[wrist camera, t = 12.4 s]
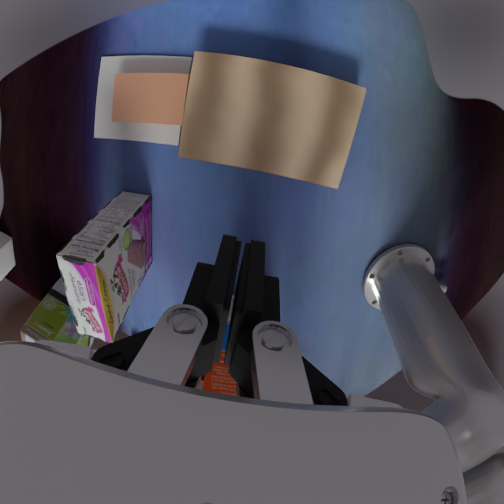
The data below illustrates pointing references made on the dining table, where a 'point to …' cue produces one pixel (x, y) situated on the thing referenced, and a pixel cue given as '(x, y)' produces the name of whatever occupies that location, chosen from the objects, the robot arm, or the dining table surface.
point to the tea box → (54, 320)
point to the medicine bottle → (6, 255)
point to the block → (150, 98)
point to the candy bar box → (107, 264)
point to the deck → (269, 117)
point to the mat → (105, 98)
